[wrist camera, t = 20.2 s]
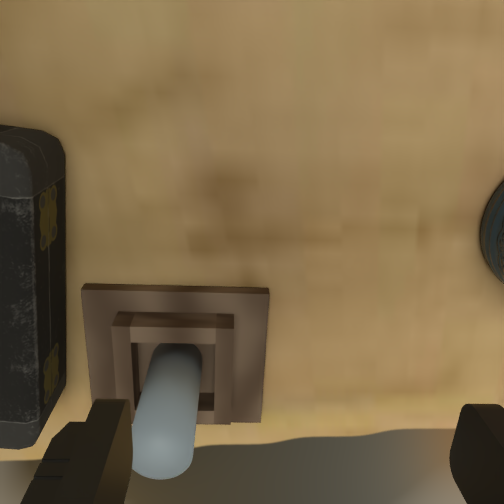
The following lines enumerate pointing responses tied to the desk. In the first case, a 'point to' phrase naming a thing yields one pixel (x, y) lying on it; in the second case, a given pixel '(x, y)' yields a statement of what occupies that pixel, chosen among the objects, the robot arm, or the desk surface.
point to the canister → (494, 233)
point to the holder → (179, 331)
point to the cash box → (31, 283)
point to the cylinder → (167, 412)
